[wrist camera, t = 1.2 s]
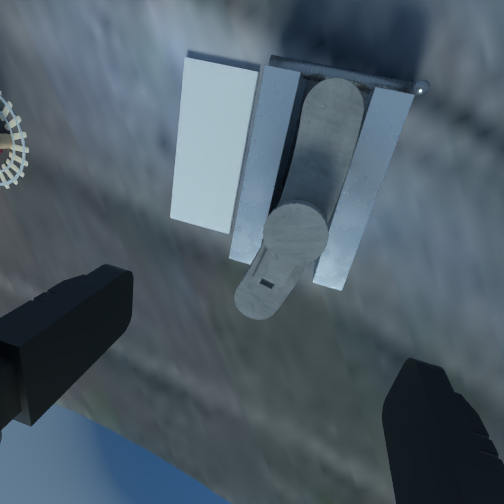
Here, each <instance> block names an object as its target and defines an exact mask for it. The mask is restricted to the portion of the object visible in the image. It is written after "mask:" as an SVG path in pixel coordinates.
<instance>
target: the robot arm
mask: <svg viewBox="0 0 504 504" xmlns="http://www.w3.org/2000/svg"><path fill="white" fill-rule="evenodd" d="M132 301H133V274H132V272H131V271H128V270H125V269H122V268H119V267H115V266H112V265H109V264H104V265H102V266H100V267H99V268H97V269H95V270H94V271H92V272H91V273H89V274H87V275H81V276H77V277H74V278H71V279H67V280H64V281H62V282H61V283H59V284H57V285H56V286H54V287H52V288H50V289H49V290H48V291H47V293H46V292H44V293H42V294H40V295H38V296H37V297H35V298H34V300H33V301H31V300H30V301H28V302H27V303H25V304H23V305H21V306H20V307H18V308H16V309H15V310H13V311H11V312H10V313H8V314H6V315H4V316H3V317H1V318H0V442H1V437H2V432H1V430H2V429H3V428H4V427H5V426H6V425H7V424H8V423H9V422H10V421H11V420H12V419H14V420H16V421H19V422H21V423H24V424H26V425H29V426H32V425H33V424H34V423H35V422H36V421H37V420H38V419H39V418H40V417H41V416H42V415H43V414H44V413H45V412H46V411H47V410H48V409H49V408H50V407H51V406H52V405H53V404H54V403H55V402H56V401H57V400H58V399H59V398H60V397H61V396H62V395H63V394H64V393H65V392H66V391H67V390H68V389H69V388H70V387H71V386H72V385H73V384H74V383H75V382H76V381H77V380H78V379H79V378H80V377H81V376H82V375H83V374H84V373H85V372H86V371H87V370H88V369H89V368H90V367H91V366H92V365H93V364H94V363H95V362H96V361H97V360H98V359H99V358H100V357H101V356H102V355H103V354H104V353H105V352H106V350H107V349H108V348H109V347H110V346H111V345H112V344H113V343H114V342H115V341H116V340H117V339H118V338H119V337H120V336H121V335H122V334H123V333H124V332H125V331H126V329H127V327H128V325H129V323H130V320H131V316H132ZM382 423H383V429H384V435H385V441H386V446H387V452H388V458H389V464H390V470H391V476H392V482H393V488H394V493H395V499H396V504H504V464H503V462H502V460H501V459H498V455H499V454H498V452H497V450H496V448H495V446H494V444H493V442H492V440H489V435H488V433H487V431H486V429H485V427H484V425H483V423H482V421H481V419H480V417H479V415H478V414H477V412H476V411H475V410H474V409H473V408H472V407H471V405H470V404H469V403H468V402H467V401H466V400H465V399H464V397H463V396H462V395H461V394H458V393H455V392H454V390H453V388H452V386H451V384H450V382H449V379H448V377H447V375H446V373H445V371H444V369H443V368H441V367H439V366H436V365H432V364H429V363H426V362H423V361H419V360H416V359H413V358H409V359H407V360H406V361H405V363H404V364H403V366H402V368H401V370H400V372H399V374H398V376H397V378H396V379H395V381H394V383H393V385H392V387H391V389H390V391H389V393H388V395H387V396H386V399H385V401H384V405H383V411H382Z"/></svg>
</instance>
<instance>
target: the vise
mask: <svg viewBox="0 0 504 504" xmlns="http://www.w3.org/2000/svg"><path fill="white" fill-rule="evenodd" d="M332 77H339V78H345V79H347V80H349V81H351V82H352V83H353V84H355V85H356V86H357V88H358V89H359V90H361V91H366V92H369V93H368V94H366V97H365V101H364V113H363V118H362V122H361V126H360V130H359V134H358V138H357V142H356V145H355V149H354V153H353V156H352V160H351V163H350V166H349V169H348V172H347V175H346V178H345V181H344V184H343V186H342V189H341V192H340V195H339V197H338V200H337V202H336V205H335V207H334V210H333V212H332V215H331V217H330V219H329V221H328V229H329V237H328V242H327V246H326V248H325V250H324V252H323V253H322V254H321V256H319V257H318V258H317V259H316V260H315V265H314V273H313V281H312V283H316V284H319V285H323V286H326V287H330V288H333V289H337V290H340V291H342V288H343V286H344V283H345V280H346V278H347V275H348V272H349V269H350V267H351V264H352V261H353V259H354V256H355V253H356V251H357V248H358V245H359V243H360V240H361V237H362V235H363V232H364V229H365V227H366V224H367V221H368V219H369V216H370V213H371V211H372V208H373V205H374V202H375V200H376V197H377V194H378V192H379V189H380V186H381V184H382V181H383V178H384V176H385V173H386V170H387V168H388V165H389V162H390V160H391V157H392V154H393V152H394V149H395V146H396V144H397V141H398V138H399V135H400V133H401V130H402V127H403V125H404V122H405V119H406V117H407V114H408V111H409V109H410V106H411V103H412V101H413V98H414V97H415V96H418V95H422V94H424V93H426V92H427V91H428V90H429V86H430V85H429V82H428V81H427V80H421V81H419V82H417V83H414V82H409V81H404V80H399V79H393V78H388V77H383V76H378V75H373V74H368V73H363V72H357V71H352V70H347V69H342V68H337V67H332V66H326V65H321V64H316V63H311V62H306V61H301V60H296V59H290V58H285V57H280V56H275V55H271V57H270V61H269V66H267V65H265V68H264V73H263V78H262V84H261V89H260V95H259V100H258V105H257V111H256V116H255V121H254V127H253V132H252V138H251V143H250V148H249V154H248V159H247V164H246V170H245V175H244V181H243V186H242V191H241V197H240V202H239V207H238V213H237V218H236V224H235V229H234V234H233V240H232V245H231V250H230V256H229V259H233V260H236V261H240V262H243V263H247V264H251V263H252V261H253V259H254V257H255V256H256V254H257V252H258V250H259V249H260V247H261V245H262V243H263V241H264V240H263V230H264V229H263V226H264V224H265V221H266V220H267V218H268V216H269V214H270V213H271V212H272V211H273V209H275V208H276V207H277V205H278V201H279V196H280V192H281V188H282V184H283V180H284V175H285V171H286V167H287V163H288V159H289V155H290V150H291V146H292V142H293V138H294V134H295V130H296V125H297V121H298V117H299V113H300V109H301V105H302V100H303V96H304V92H305V88H306V84H307V82H306V80H311V81H316V82H321V81H323V80H325V79H328V78H332ZM305 79H306V80H305Z"/></svg>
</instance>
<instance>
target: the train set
mask: <svg viewBox="0 0 504 504" xmlns="http://www.w3.org/2000/svg"><path fill="white" fill-rule="evenodd" d="M0 99H1V100H2V102H3V103H4V104H5V105H6V106H5V107H4V109H3V111H2V112H1V110H0V119H1V120H2V122H3V121H4V120H5V121H6V123H7V124H5V128H6V130H7V131H8V130H10V133H11V134H0V153H2V151H1V149H4V148H10V149H12V150H13V153H11V152H9V157H10V158H11V161H10V160H9V159H7V161H6V163H7V164H8V166H7V167H6V165H5V164H3V165H2V168H3V170H1V169H0V178H1V180H2V182H3V183H0V186H2V185H4V186H5V187H6V189H8V188H9V185H8V184H10V183H12V182H13V183H14V184H15V185H17V184H18V181H17V178H18V177H19V175H20V176H21V177H24V173H23V172H22V170H23V167H24V165H25V166H28V162H27V161H26V160H25V156H26V153H29V148H28V147H25V141H24V138H26V137H27V135H26V133H25V132H22V129H21V127H20V124H19V123H20V122H21V119H20V117H19V116H16V115H15V114H14V112H13V110H12V106H13V105H12V103H11V102H10V101H8V102H6V101H5V99H4V98H3V97H2V96H1V91H0ZM9 111H10V112H11V114H12V116H13V118H14V119H12V120H11V121H10V122H8V121H7V119H6V116H7V115H8V113H9ZM15 125H17V127H18V129H19V132H18V133H13V132H12V129H11V128H13V127H14V126H15ZM16 139H21V141H22V146H20V145H15V140H16ZM15 150H16V151H21V152H23V154H22V158H20V157H19V156H17V155H15ZM14 160H16V161H17V162H19V163H21V166H20V169H19V168H18V167H17V166H15V165H14V164H13V161H14ZM10 167H11V168H12V169H13V170H14V171H16V172H17V174H16V175H15V177H14V176H13V175H12V173H11V172H10V171H9V168H10ZM4 171H5V172H6V174H7V175H8V176H9V177H10V179H11V180H9V181H6V179H5V177H4V175H3V173H2V172H4Z"/></svg>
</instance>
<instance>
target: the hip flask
mask: <svg viewBox="0 0 504 504" xmlns="http://www.w3.org/2000/svg"><path fill="white" fill-rule="evenodd" d="M363 113H364V101H363V97H362V94H361V92H360V90H359V89H358V88H357V86H356V85H355V84H353V83H352V82H351V81H349V80H347V79H345V78H339V77H332V78H328V79H325V80H323V81H321V82H319V83H318V84H316V85H315V86H314V87H313V88H312V89H311V90H310V91H309V93H308V94H307V96H306V98H305V101H304V103H303V108H302V113H301V120H300V126H299V131H298V136H297V141H296V146H295V150H294V154H293V158H292V162H291V166H290V170H289V173H288V177H287V180H286V183H285V186H284V189H283V192H282V196H281V199H280V201H279V204H278V206H277V207H276V208H275V209H273V211H272V212H271V213H270V214H269V216H268V218H267V220H266V221H265V224H264V226H263V229H264V230H263V240H264V241H263V243H262V245H261V247H260V249H259V250H258V252H257V254H256V256H255V257H254V259H253V261H252V263H251V264H250V266H249V268H248V270H247V271H246V273H245V275H244V277H243V278H242V280H241V282H240V284H239V285H238V287H237V289H236V291H235V294H234V300H235V304H236V306H237V308H238V309H239V310H240V312H241V313H243V314H244V315H245V316H247V317H249V318H252V319H266V318H269V317H270V316H272V315H273V314H274V313H275V312H276V310H277V309H278V308H279V307H280V305H281V304H282V303H283V301H284V300H285V299H286V297H287V296H288V294H289V293H290V292H291V290H292V289H293V287H294V286H295V284H296V282H297V281H298V279H299V278H300V276H301V274H302V273H303V271H304V269H305V267H306V266H307V264H308V263H311V262H312V261H314V260H316V259H317V258H318V257H319V256H321V254H322V253H323V252H324V250H325V248H326V246H327V242H328V237H329V229H328V221H329V219H330V217H331V215H332V212H333V210H334V207H335V205H336V202H337V200H338V197H339V195H340V192H341V189H342V186H343V184H344V181H345V178H346V175H347V172H348V169H349V166H350V163H351V160H352V156H353V153H354V149H355V145H356V142H357V138H358V134H359V130H360V126H361V122H362V118H363Z"/></svg>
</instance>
